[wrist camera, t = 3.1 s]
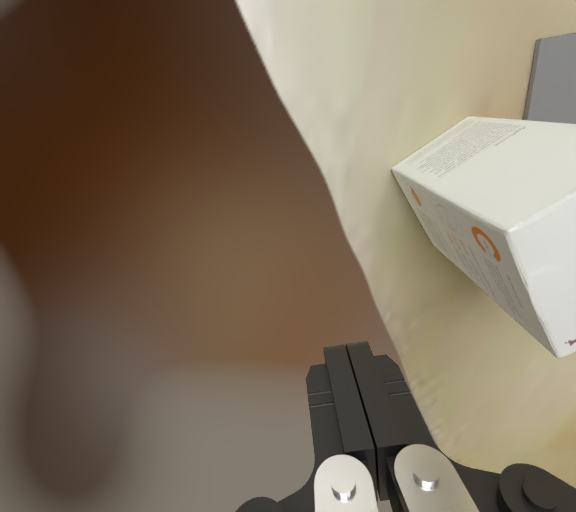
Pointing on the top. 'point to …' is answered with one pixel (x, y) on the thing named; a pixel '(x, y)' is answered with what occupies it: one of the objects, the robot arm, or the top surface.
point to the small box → (505, 216)
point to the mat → (553, 81)
